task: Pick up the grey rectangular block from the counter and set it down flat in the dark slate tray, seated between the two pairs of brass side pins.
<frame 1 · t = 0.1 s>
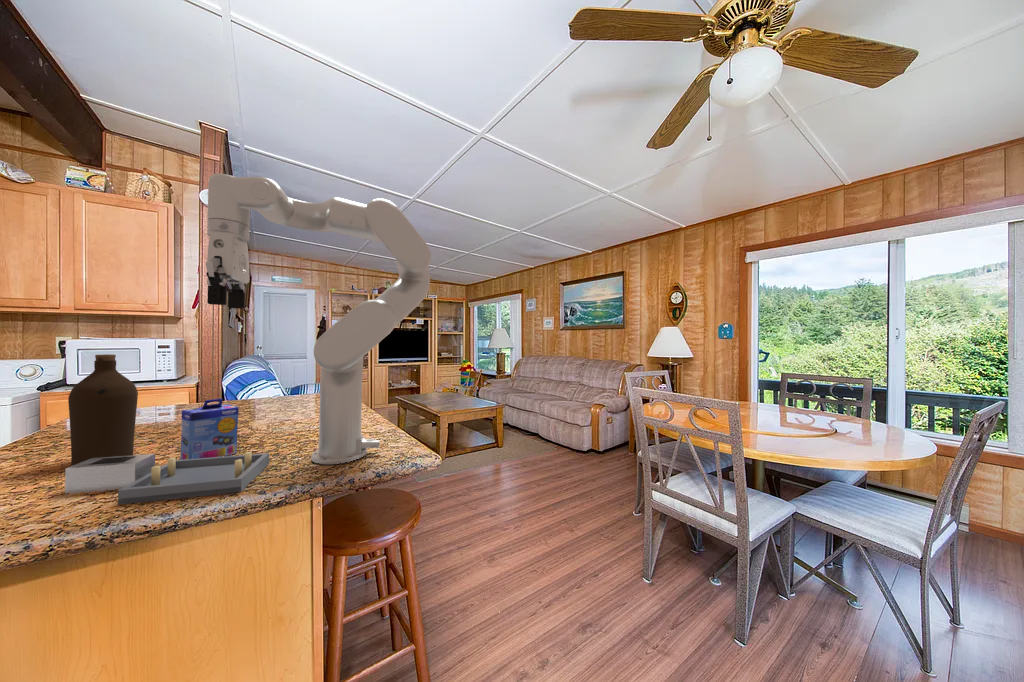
hand: (227, 306, 80), 37 cm above the worktop, tool pointing down, fingers open, 9 cm apart
ink cartridge box: (209, 458, 85), on the worktop
pin tray: (204, 481, 71), on the worktop
grey rectangular block: (112, 485, 69), on the worktop
olive oil: (103, 461, 82), on the worktop
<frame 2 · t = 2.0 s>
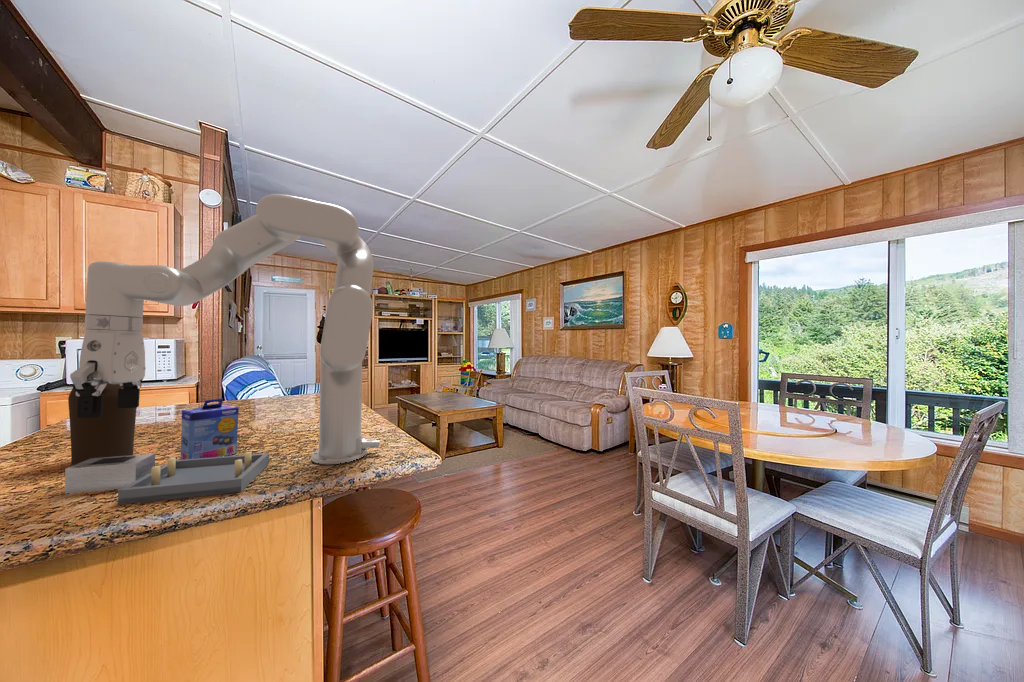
hand: (110, 412, 69), 14 cm above the worktop, tool pointing down, fingers open, 9 cm apart
nothing on the worktop moved.
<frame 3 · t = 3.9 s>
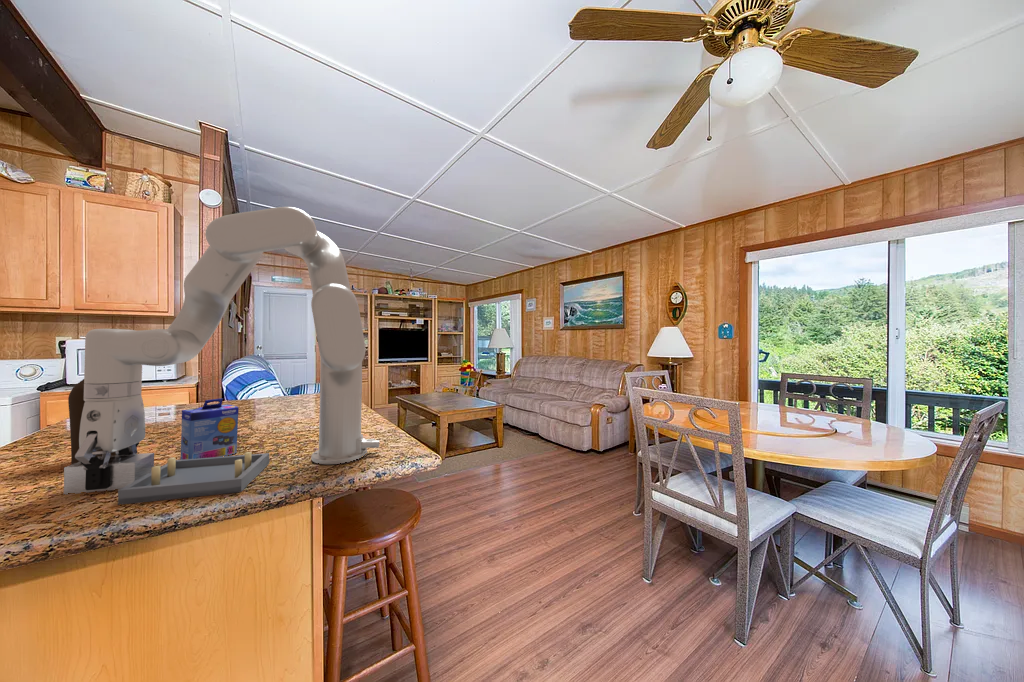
hand: (111, 481, 69), 1 cm above the worktop, tool pointing down, fingers closed on grey rectangular block, 6 cm apart
grey rectangular block: (111, 484, 69), on the worktop, touching gripper
everything else where it was.
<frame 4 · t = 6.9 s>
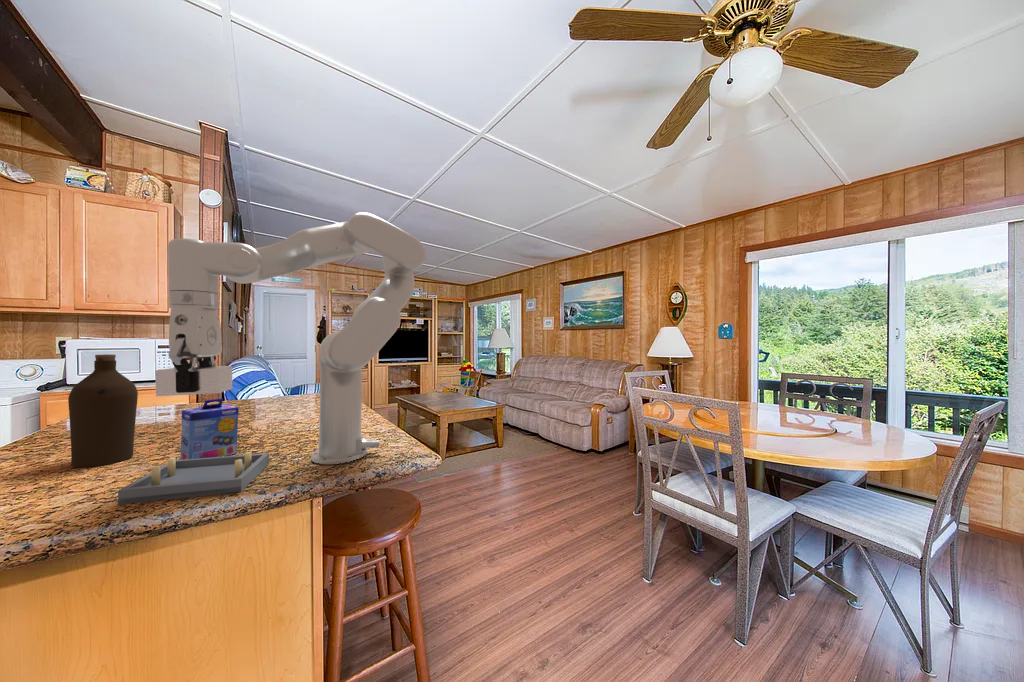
hand: (196, 388, 71), 19 cm above the worktop, tool pointing down, fingers closed on grey rectangular block, 6 cm apart
grey rectangular block: (196, 392, 71), point 18 cm above the worktop, touching gripper
everything else where it was.
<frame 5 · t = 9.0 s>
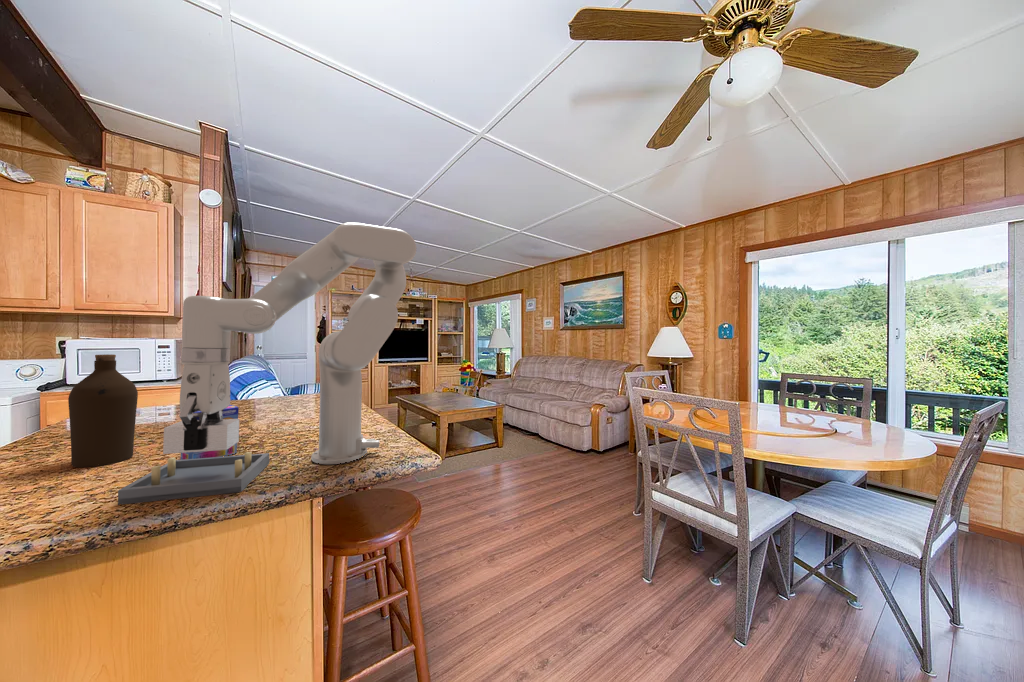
hand: (203, 443, 71), 8 cm above the worktop, tool pointing down, fingers closed on grey rectangular block, 6 cm apart
grey rectangular block: (203, 447, 71), point 7 cm above the worktop, touching gripper
everything else where it was.
when the fingers open (3 cm above the worktop, at t = 10.4 s): grey rectangular block stays where it is, resting on pin tray.
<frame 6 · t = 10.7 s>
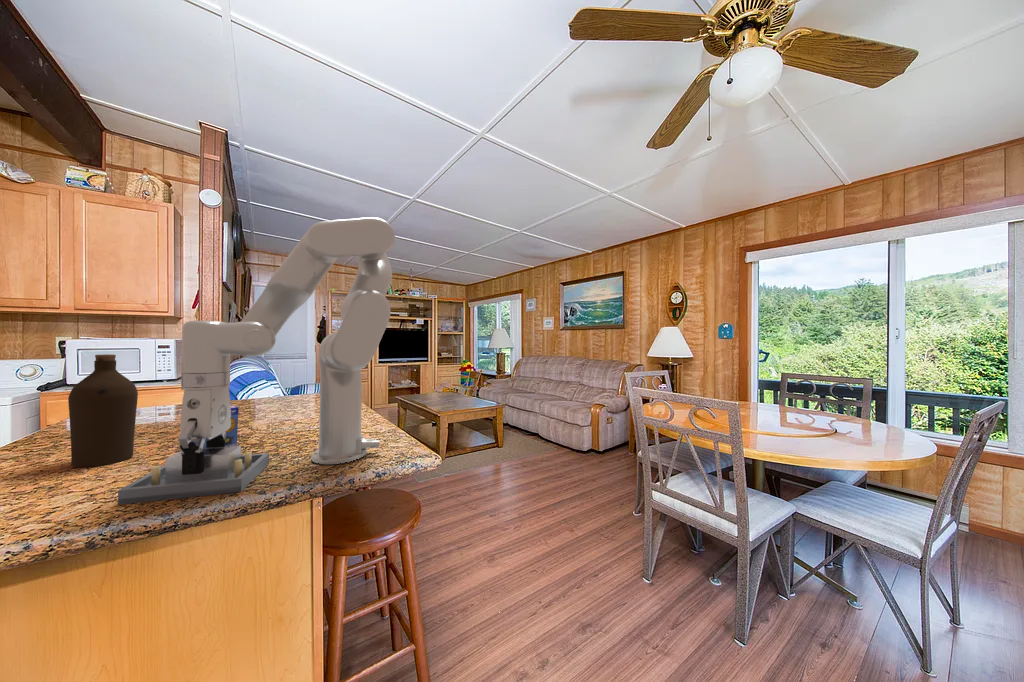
hand: (204, 465, 71), 3 cm above the worktop, tool pointing down, fingers open, 8 cm apart
grey rectangular block: (205, 476, 71), point 1 cm above the worktop, touching pin tray
everything else where it was.
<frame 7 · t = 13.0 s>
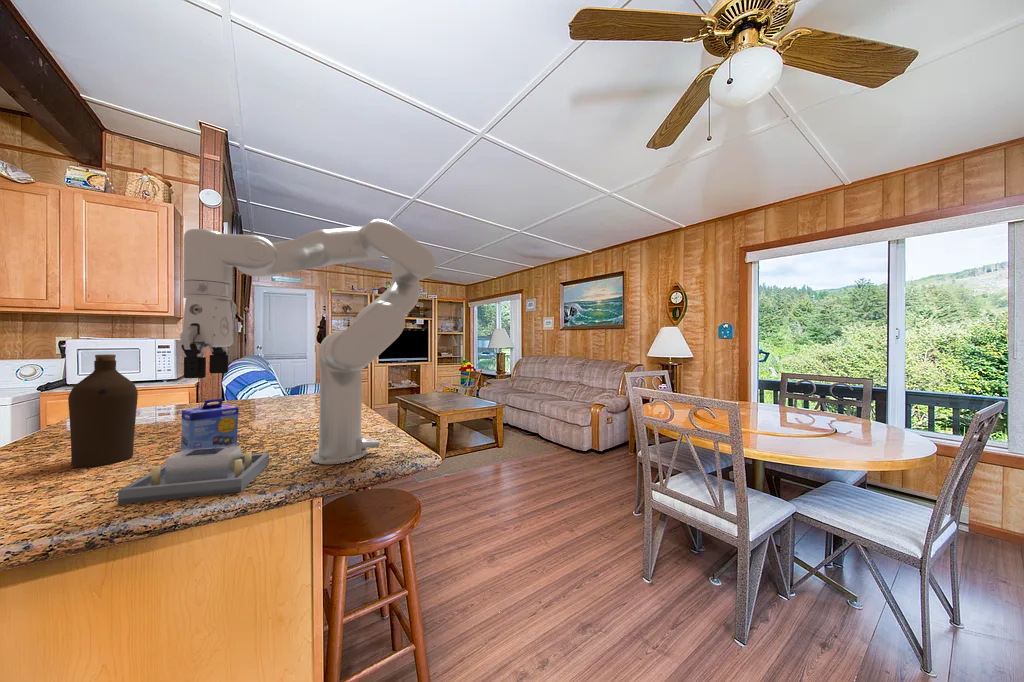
hand: (207, 375, 71), 22 cm above the worktop, tool pointing down, fingers open, 9 cm apart
nothing on the worktop moved.
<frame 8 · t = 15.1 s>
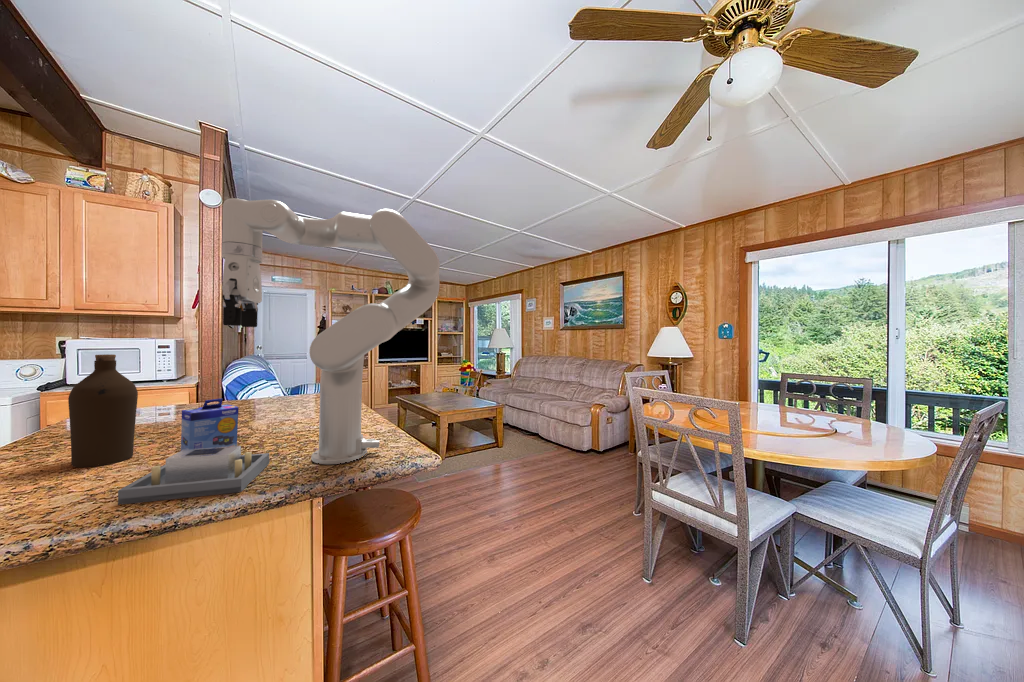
hand: (241, 326, 82), 32 cm above the worktop, tool pointing down, fingers open, 9 cm apart
nothing on the worktop moved.
at the end: grey rectangular block 0.1 cm off-centre on the pin tray, point 1.0 cm above the pin tray's base; grey rectangular block tilted 0°; the gripper is holding nothing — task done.
